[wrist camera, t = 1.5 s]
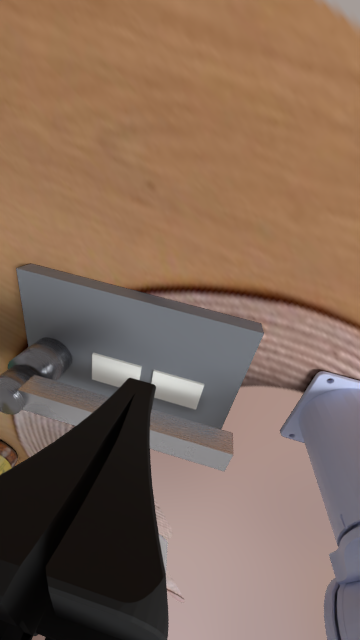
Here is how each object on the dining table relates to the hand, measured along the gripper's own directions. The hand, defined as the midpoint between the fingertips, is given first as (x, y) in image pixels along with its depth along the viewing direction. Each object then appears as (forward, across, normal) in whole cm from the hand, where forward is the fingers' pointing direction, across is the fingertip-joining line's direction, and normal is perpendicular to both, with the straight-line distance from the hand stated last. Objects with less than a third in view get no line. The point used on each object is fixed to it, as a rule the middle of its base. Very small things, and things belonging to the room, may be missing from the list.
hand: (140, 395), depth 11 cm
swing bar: (+4, +3, +6) cm, 7 cm away
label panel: (+8, +3, +6) cm, 11 cm away
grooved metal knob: (+8, +10, +6) cm, 14 cm away
